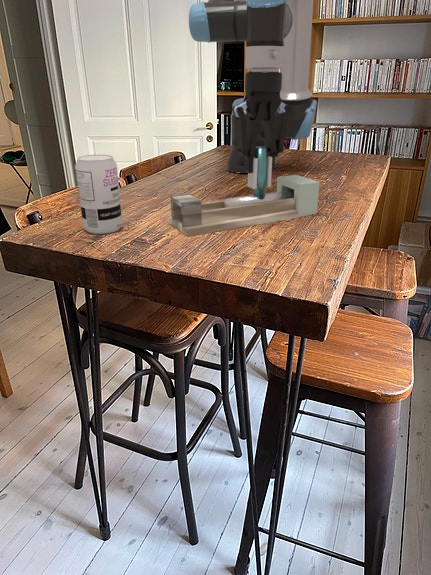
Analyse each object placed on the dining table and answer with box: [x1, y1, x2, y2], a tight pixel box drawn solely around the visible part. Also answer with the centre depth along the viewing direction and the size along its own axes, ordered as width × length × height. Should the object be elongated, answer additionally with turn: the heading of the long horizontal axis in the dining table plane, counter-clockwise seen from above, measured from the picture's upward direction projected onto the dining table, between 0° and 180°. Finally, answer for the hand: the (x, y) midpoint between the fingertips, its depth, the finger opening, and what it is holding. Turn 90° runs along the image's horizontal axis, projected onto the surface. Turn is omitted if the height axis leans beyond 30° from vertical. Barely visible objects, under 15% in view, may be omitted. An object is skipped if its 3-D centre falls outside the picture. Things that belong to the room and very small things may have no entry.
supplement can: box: [74, 154, 124, 235], centre depth 93 cm, size 8×8×15 cm
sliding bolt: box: [222, 146, 294, 208], centre depth 101 cm, size 3×20×14 cm, turn 117°
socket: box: [276, 174, 320, 218], centre depth 107 cm, size 9×6×8 cm, turn 27°
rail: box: [168, 193, 299, 237], centre depth 100 cm, size 10×28×6 cm, turn 117°
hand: (259, 186), depth 101 cm, fingers closed on sliding bolt, 3 cm apart
